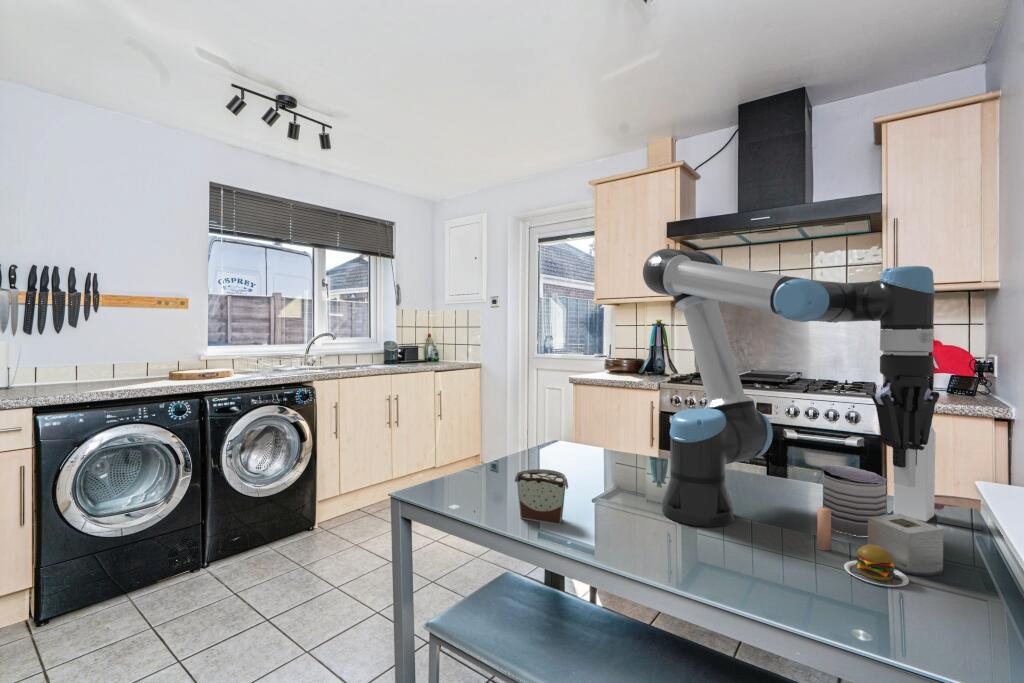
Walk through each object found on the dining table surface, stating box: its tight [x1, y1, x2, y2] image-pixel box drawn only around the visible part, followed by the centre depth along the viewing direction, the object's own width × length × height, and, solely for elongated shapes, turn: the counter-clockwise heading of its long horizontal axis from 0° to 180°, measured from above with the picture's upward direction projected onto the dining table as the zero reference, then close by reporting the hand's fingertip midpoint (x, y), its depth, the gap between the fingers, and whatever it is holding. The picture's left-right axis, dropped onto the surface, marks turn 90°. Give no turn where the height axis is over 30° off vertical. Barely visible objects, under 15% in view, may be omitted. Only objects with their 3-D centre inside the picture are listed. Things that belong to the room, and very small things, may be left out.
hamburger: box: [843, 544, 910, 588], centre depth 85 cm, size 12×12×6 cm
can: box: [820, 464, 889, 536], centre depth 106 cm, size 11×11×12 cm
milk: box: [893, 422, 937, 523], centre depth 112 cm, size 6×6×22 cm
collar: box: [867, 513, 944, 568], centre depth 90 cm, size 8×8×6 cm
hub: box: [893, 526, 944, 577], centre depth 90 cm, size 11×11×6 cm
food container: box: [514, 468, 569, 526], centre depth 112 cm, size 12×6×10 cm, turn 65°
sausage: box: [816, 507, 832, 551], centre depth 95 cm, size 2×2×8 cm
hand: (904, 484), depth 90 cm, fingers closed
